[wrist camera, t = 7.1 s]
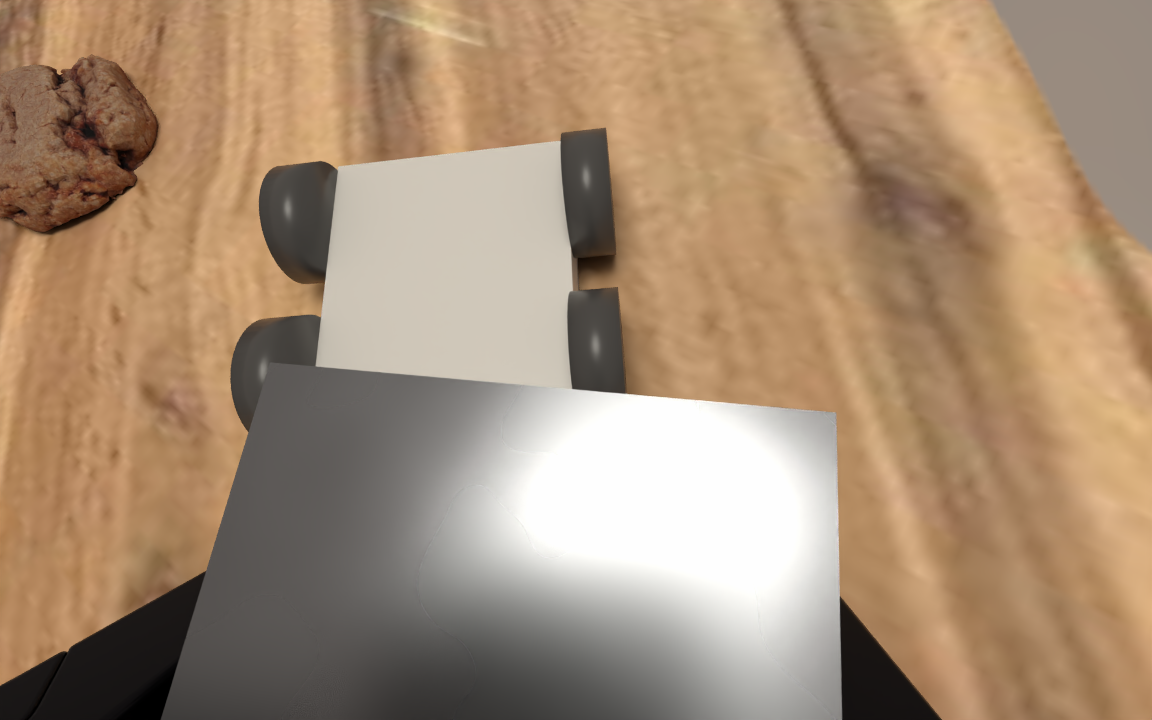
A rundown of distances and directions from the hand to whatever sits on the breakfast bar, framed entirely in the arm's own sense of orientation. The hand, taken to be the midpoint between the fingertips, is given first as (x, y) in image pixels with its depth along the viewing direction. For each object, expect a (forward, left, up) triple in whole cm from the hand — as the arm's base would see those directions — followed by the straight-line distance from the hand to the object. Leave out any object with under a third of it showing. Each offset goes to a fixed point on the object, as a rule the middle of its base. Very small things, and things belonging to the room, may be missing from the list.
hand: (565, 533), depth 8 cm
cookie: (-12, +31, -13) cm, 36 cm away
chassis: (-2, +7, -12) cm, 14 cm away
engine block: (-1, -1, -7) cm, 7 cm away
